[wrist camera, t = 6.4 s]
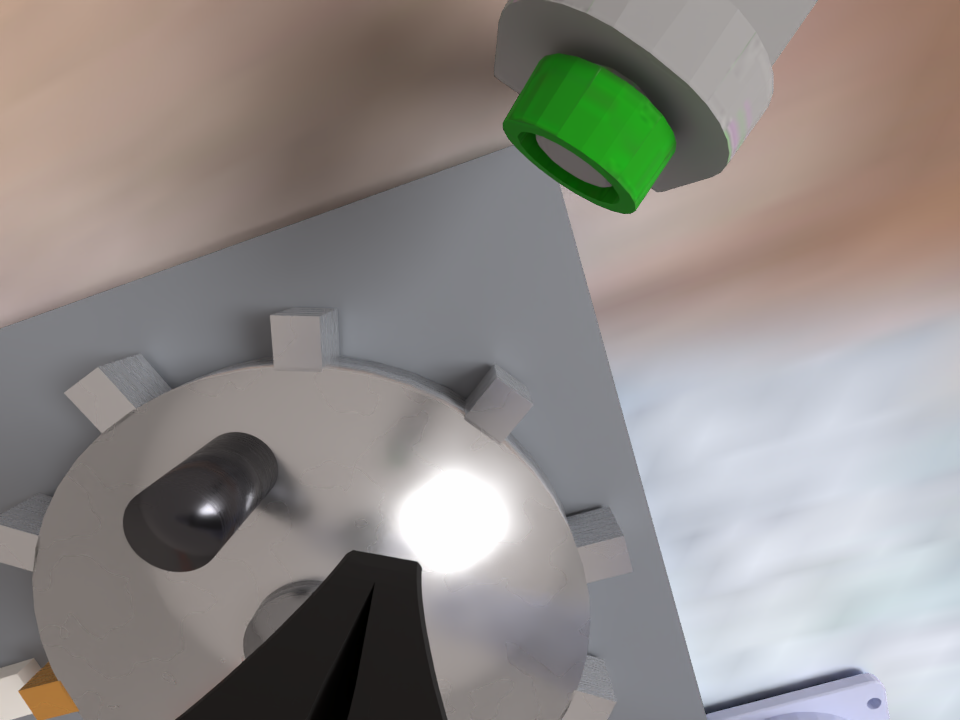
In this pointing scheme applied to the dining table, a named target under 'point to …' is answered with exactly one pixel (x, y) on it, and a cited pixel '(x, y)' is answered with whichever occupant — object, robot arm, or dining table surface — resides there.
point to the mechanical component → (638, 87)
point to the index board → (386, 339)
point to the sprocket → (305, 532)
